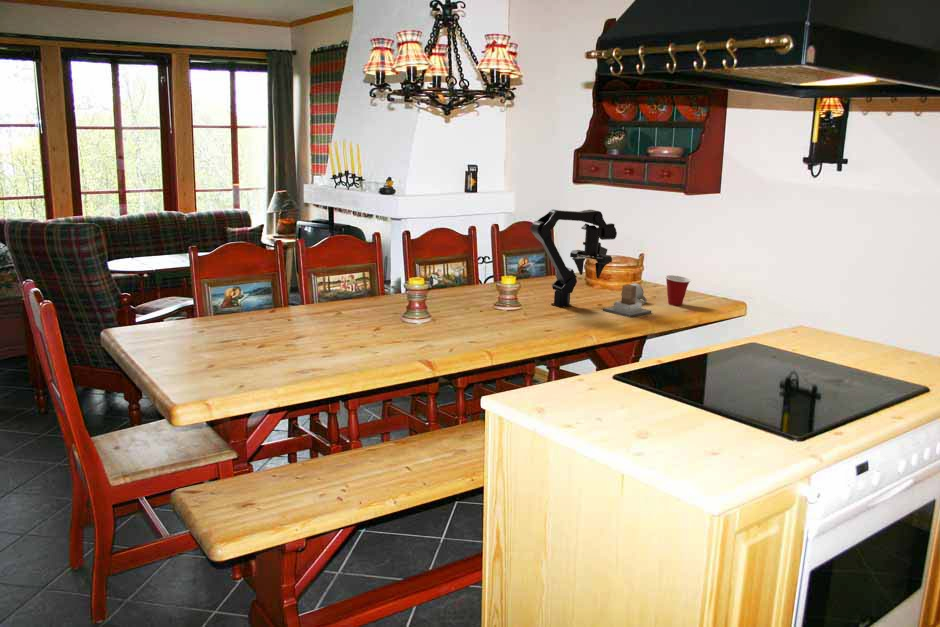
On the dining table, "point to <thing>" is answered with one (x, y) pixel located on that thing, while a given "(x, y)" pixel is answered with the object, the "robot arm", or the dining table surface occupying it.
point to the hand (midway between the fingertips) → (589, 276)
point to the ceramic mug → (639, 294)
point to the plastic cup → (676, 289)
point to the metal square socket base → (627, 309)
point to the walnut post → (628, 294)
